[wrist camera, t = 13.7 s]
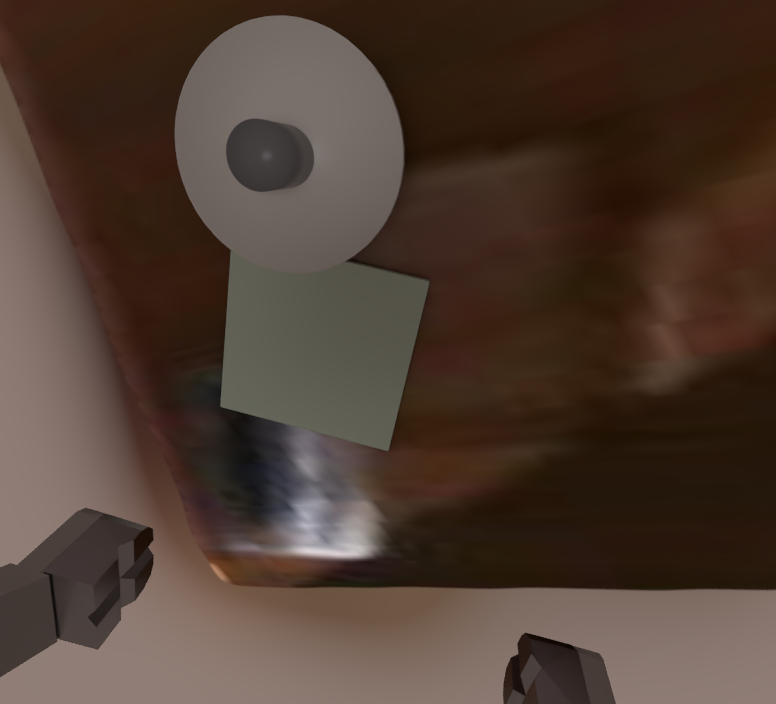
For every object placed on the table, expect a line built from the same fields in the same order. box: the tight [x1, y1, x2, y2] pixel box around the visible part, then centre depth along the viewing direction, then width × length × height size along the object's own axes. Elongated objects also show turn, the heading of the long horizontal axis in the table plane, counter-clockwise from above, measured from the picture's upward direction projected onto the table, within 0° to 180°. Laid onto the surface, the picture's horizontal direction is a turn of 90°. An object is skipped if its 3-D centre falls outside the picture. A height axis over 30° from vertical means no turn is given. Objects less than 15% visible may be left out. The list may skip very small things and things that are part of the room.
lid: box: [175, 15, 405, 273], centre depth 27 cm, size 14×14×5 cm
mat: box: [220, 250, 430, 451], centre depth 40 cm, size 16×16×1 cm
